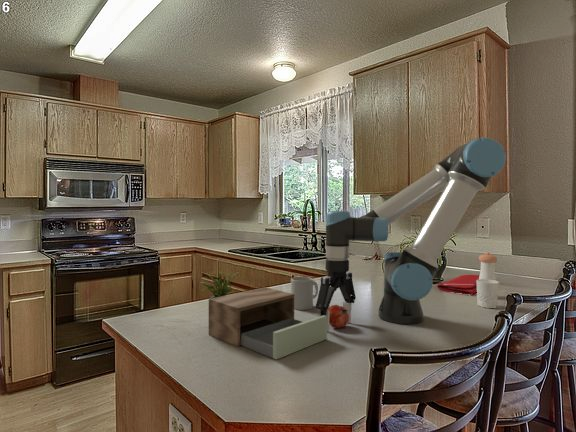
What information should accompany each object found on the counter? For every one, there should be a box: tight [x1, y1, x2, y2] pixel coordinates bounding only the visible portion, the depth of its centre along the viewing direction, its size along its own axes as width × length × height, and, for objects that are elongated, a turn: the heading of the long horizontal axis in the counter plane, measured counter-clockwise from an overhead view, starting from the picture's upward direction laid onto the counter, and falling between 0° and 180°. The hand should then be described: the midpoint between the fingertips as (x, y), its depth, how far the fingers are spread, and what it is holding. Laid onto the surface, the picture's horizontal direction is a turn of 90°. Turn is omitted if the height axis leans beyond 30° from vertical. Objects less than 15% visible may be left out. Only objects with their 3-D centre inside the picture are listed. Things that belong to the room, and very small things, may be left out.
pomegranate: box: [328, 304, 349, 329], centre depth 125 cm, size 7×7×10 cm
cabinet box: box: [208, 286, 295, 347], centre depth 120 cm, size 14×23×11 cm, turn 136°
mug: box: [290, 276, 319, 311], centre depth 148 cm, size 12×8×11 cm
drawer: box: [240, 315, 328, 360], centre depth 110 cm, size 15×21×7 cm
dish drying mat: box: [436, 274, 480, 296], centre depth 188 cm, size 16×41×4 cm, turn 139°
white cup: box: [476, 279, 500, 309], centre depth 151 cm, size 8×8×10 cm
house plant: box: [199, 270, 239, 299], centre depth 137 cm, size 14×14×16 cm
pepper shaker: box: [478, 252, 498, 281], centre depth 166 cm, size 7×7×19 cm
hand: (336, 326), depth 125 cm, fingers open, 11 cm apart
